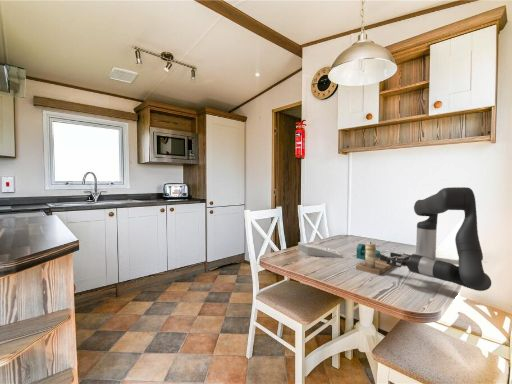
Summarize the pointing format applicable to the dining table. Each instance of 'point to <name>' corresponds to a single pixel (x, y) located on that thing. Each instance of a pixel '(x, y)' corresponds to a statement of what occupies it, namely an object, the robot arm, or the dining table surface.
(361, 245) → the bracket
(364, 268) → the board
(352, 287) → the dining table surface
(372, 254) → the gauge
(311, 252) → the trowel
